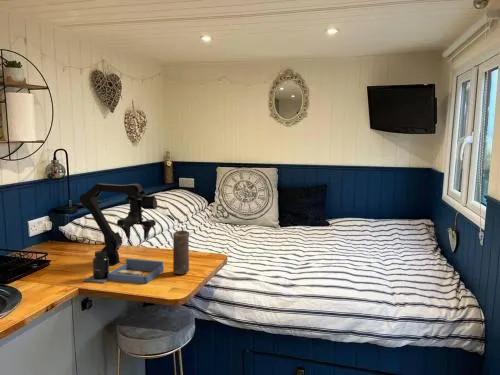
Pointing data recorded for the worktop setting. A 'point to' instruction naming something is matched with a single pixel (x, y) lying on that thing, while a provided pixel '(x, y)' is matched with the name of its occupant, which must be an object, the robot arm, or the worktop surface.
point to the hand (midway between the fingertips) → (136, 239)
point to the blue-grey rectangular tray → (137, 265)
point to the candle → (181, 252)
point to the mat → (96, 280)
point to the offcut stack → (130, 272)
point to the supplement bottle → (100, 265)
